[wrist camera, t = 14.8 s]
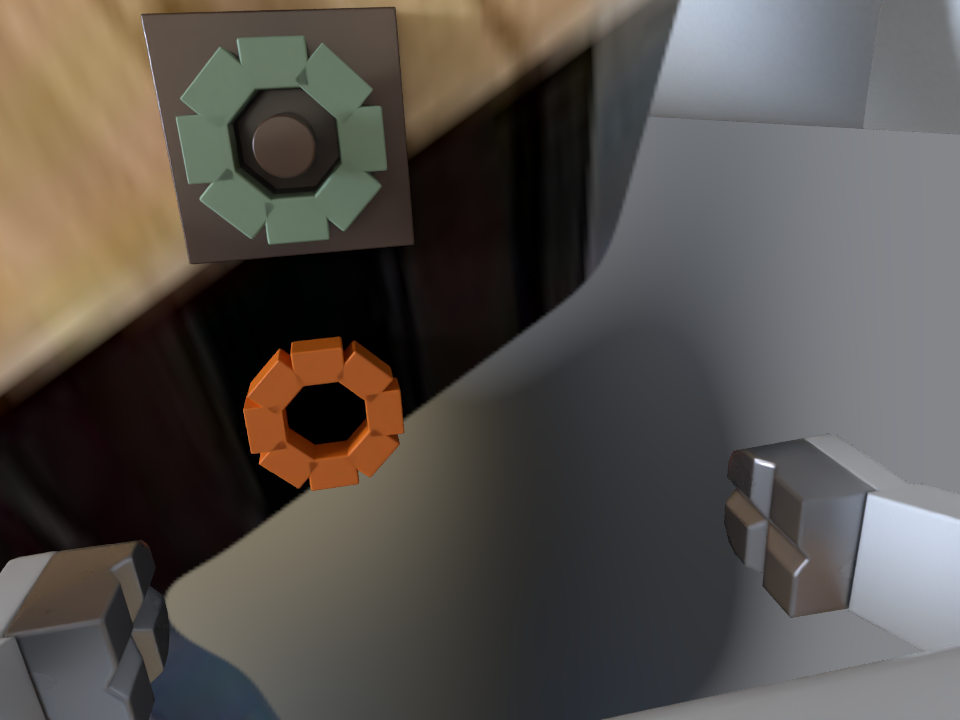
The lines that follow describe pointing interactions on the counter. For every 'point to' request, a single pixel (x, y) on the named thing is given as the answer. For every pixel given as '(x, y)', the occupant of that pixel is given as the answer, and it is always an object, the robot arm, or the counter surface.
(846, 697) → the robot arm
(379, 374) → the orange ring
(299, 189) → the charcoal ring
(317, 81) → the sage ring
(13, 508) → the counter surface
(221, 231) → the spindle
